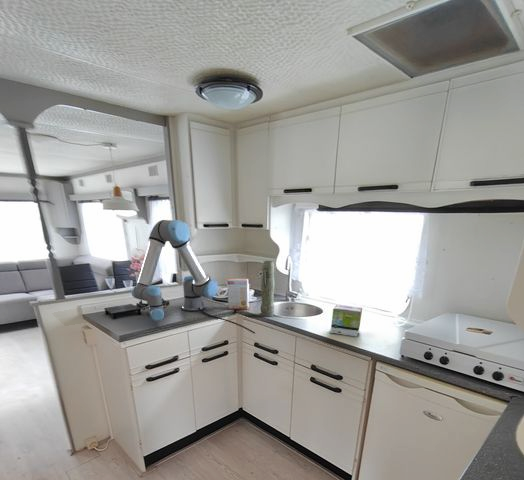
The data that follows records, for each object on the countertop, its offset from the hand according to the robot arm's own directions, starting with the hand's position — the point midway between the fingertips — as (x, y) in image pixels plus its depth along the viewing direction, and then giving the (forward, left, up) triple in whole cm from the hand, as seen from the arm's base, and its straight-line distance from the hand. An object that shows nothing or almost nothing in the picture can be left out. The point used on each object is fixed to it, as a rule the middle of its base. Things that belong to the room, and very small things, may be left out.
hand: (152, 301), depth 216 cm
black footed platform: (+9, +17, -8) cm, 21 cm away
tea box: (-108, -66, -8) cm, 127 cm away
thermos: (-53, -56, -8) cm, 78 cm away
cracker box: (-28, -51, -8) cm, 59 cm away
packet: (-2, +1, -8) cm, 8 cm away
